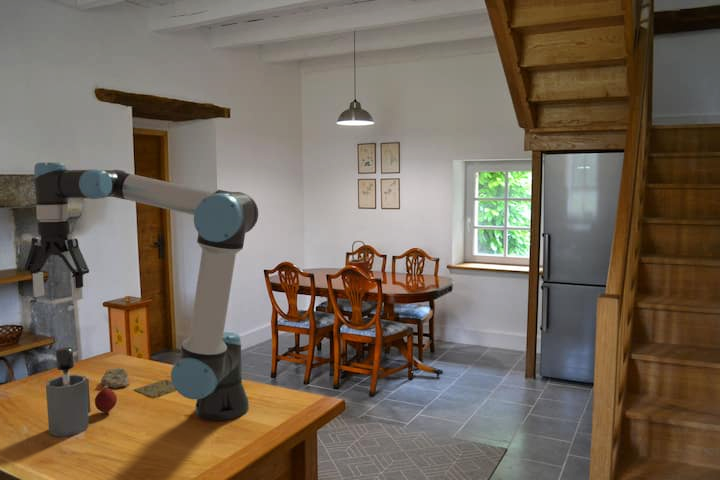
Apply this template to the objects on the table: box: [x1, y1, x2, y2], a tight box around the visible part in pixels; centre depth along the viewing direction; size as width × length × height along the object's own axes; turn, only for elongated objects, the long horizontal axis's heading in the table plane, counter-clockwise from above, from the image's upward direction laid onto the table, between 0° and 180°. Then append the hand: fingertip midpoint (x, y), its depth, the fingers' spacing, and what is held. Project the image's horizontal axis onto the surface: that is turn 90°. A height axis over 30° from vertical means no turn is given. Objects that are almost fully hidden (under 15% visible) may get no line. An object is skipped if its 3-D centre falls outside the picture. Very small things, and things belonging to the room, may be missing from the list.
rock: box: [100, 368, 130, 389], centre depth 188 cm, size 9×6×10 cm
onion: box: [94, 385, 118, 414], centre depth 165 cm, size 6×6×8 cm
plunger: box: [55, 346, 75, 386], centre depth 154 cm, size 7×7×19 cm
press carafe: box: [45, 374, 92, 438], centre depth 156 cm, size 9×11×14 cm
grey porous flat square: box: [132, 379, 178, 400], centre depth 185 cm, size 12×12×1 cm
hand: (58, 298), depth 156 cm, fingers open, 13 cm apart
